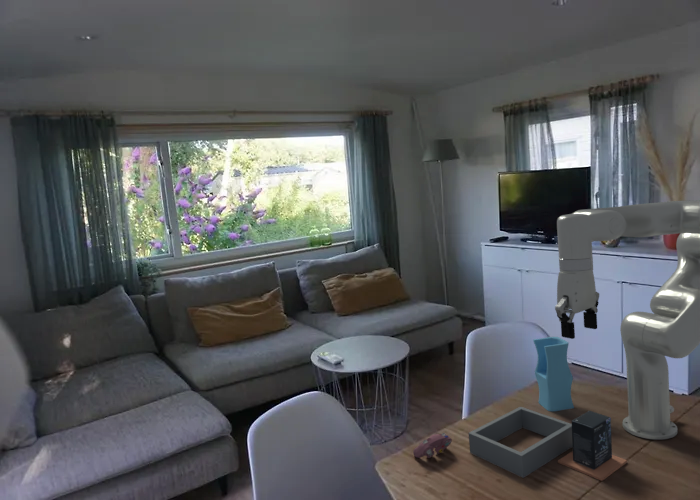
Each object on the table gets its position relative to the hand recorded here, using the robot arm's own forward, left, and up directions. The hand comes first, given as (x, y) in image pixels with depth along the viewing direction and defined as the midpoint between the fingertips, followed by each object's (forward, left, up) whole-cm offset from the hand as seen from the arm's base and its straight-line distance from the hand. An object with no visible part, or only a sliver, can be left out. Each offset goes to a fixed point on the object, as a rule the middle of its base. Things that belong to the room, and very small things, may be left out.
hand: (579, 332), depth 126 cm
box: (+5, +5, -30) cm, 31 cm away
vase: (-17, -20, -31) cm, 40 cm away
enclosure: (+11, -11, -30) cm, 34 cm away
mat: (+5, +5, -30) cm, 31 cm away
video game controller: (+29, -25, -31) cm, 49 cm away
